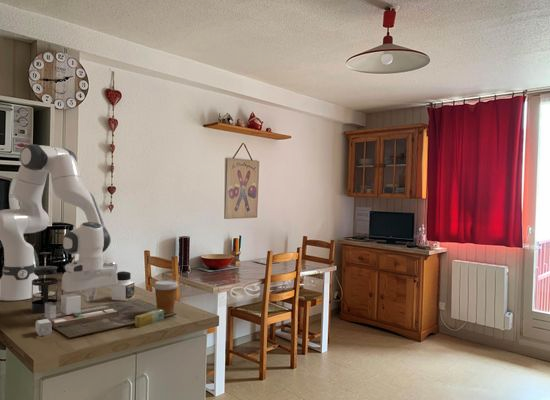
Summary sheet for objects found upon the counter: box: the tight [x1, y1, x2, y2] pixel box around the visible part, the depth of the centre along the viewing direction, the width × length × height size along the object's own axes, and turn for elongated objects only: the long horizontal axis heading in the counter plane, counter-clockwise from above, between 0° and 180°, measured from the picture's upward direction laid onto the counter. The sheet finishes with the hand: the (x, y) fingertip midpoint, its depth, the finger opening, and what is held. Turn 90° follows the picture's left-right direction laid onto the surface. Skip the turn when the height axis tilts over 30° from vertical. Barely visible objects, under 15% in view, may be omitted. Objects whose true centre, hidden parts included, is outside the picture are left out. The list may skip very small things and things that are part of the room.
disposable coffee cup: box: [153, 279, 179, 315], centre depth 167 cm, size 10×10×12 cm
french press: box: [30, 251, 64, 314], centre depth 165 cm, size 12×9×23 cm
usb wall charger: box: [34, 318, 53, 337], centre depth 138 cm, size 4×7×4 cm, turn 41°
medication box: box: [134, 308, 165, 328], centre depth 153 cm, size 12×3×4 cm, turn 149°
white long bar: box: [44, 302, 107, 320], centre depth 157 cm, size 6×21×5 cm, turn 135°
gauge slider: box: [60, 292, 82, 317], centre depth 154 cm, size 10×5×6 cm, turn 45°
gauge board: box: [42, 304, 120, 329], centre depth 157 cm, size 13×23×2 cm, turn 135°
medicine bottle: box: [110, 270, 135, 302], centre depth 185 cm, size 7×7×12 cm
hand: (90, 300), depth 160 cm, fingers closed
